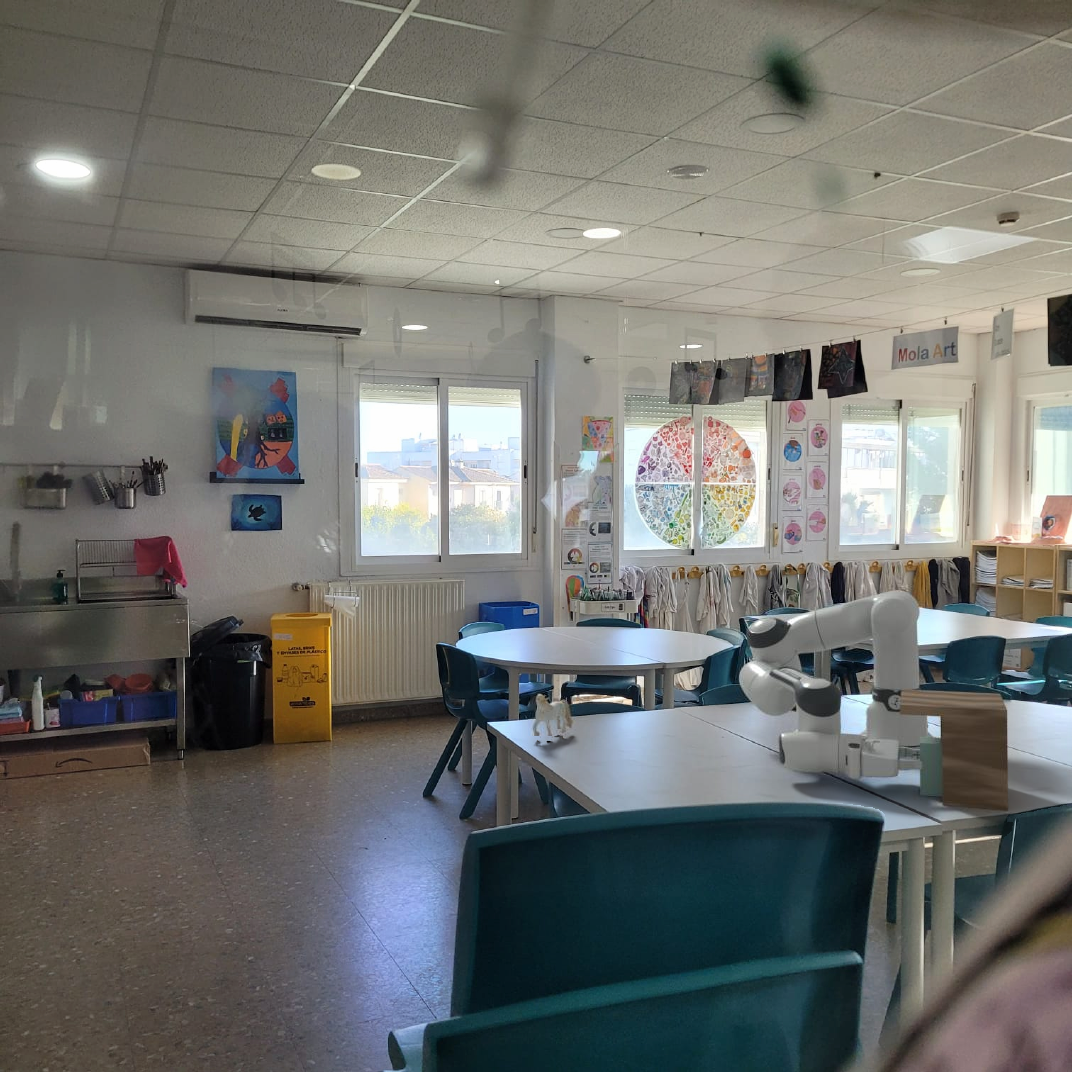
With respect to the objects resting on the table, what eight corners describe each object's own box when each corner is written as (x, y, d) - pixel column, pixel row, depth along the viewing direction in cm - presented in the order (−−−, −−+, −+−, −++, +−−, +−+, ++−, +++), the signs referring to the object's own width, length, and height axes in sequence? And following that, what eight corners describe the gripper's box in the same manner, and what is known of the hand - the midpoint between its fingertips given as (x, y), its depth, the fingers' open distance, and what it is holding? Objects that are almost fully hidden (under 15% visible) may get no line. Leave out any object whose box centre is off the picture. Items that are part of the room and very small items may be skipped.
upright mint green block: (920, 787, 214) (919, 736, 214) (952, 789, 212) (951, 738, 212) (920, 794, 208) (919, 742, 208) (953, 797, 206) (952, 745, 206)
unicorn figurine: (524, 747, 257) (523, 696, 257) (549, 732, 275) (549, 684, 275) (550, 749, 255) (549, 697, 254) (574, 733, 273) (573, 685, 273)
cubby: (902, 778, 221) (901, 689, 221) (1000, 785, 214) (1000, 693, 214) (900, 801, 204) (899, 704, 203) (1007, 810, 196) (1007, 710, 196)
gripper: (856, 758, 225) (922, 762, 220) (851, 780, 206) (922, 786, 201) (856, 730, 225) (921, 734, 220) (850, 750, 206) (922, 755, 201)
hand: (922, 759), depth 211 cm, fingers open, 8 cm apart
